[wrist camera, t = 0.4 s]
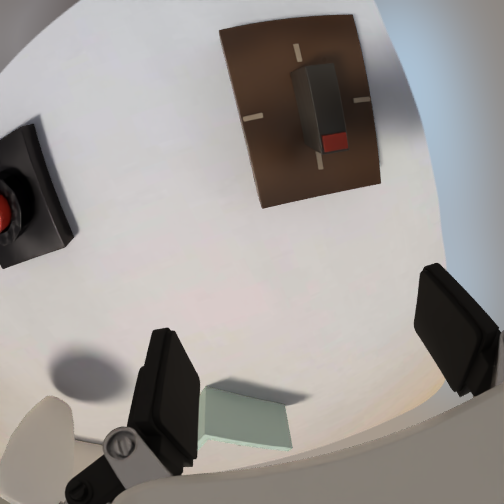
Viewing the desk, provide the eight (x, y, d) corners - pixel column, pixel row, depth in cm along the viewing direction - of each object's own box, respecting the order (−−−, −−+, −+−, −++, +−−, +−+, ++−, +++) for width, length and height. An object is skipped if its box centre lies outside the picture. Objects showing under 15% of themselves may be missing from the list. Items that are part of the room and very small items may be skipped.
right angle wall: (178, 425, 42) (175, 465, 35) (205, 385, 37) (204, 434, 31) (247, 439, 45) (250, 477, 39) (284, 404, 41) (292, 448, 34)
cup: (94, 416, 41) (70, 529, 22) (40, 396, 39) (4, 501, 20) (93, 383, 37) (57, 519, 18) (31, 359, 34) (-21, 480, 15)
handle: (289, 72, 19) (305, 65, 15) (314, 69, 19) (335, 62, 15) (304, 144, 22) (323, 156, 17) (327, 140, 22) (351, 151, 17)
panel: (219, 38, 20) (218, 29, 17) (339, 22, 19) (353, 13, 17) (258, 197, 26) (262, 209, 24) (366, 174, 26) (382, 184, 23)
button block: (-27, 163, 21) (-50, 174, 18) (33, 123, 21) (9, 129, 17) (12, 259, 27) (-6, 278, 23) (74, 237, 27) (57, 256, 23)
